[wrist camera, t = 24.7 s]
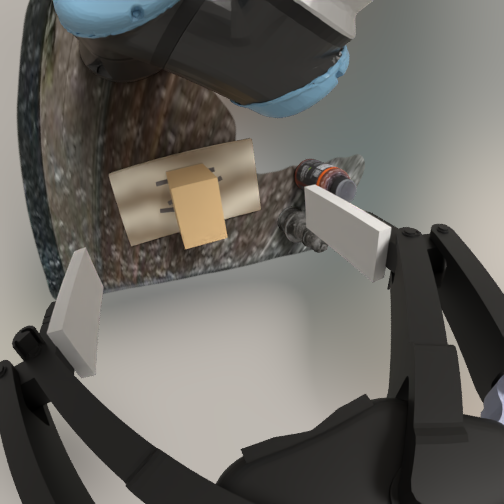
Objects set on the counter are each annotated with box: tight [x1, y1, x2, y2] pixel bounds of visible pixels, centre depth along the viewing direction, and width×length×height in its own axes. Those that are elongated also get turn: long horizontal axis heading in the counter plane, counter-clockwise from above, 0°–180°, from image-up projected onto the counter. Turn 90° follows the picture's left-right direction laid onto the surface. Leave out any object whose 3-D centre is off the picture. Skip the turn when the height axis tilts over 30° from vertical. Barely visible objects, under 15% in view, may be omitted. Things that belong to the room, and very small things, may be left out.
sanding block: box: [166, 163, 227, 249], centre depth 38 cm, size 8×6×10 cm
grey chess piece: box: [278, 206, 328, 253], centre depth 47 cm, size 6×6×12 cm
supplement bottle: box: [295, 159, 357, 203], centre depth 44 cm, size 6×6×11 cm
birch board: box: [109, 138, 261, 246], centre depth 42 cm, size 12×22×1 cm, turn 97°
